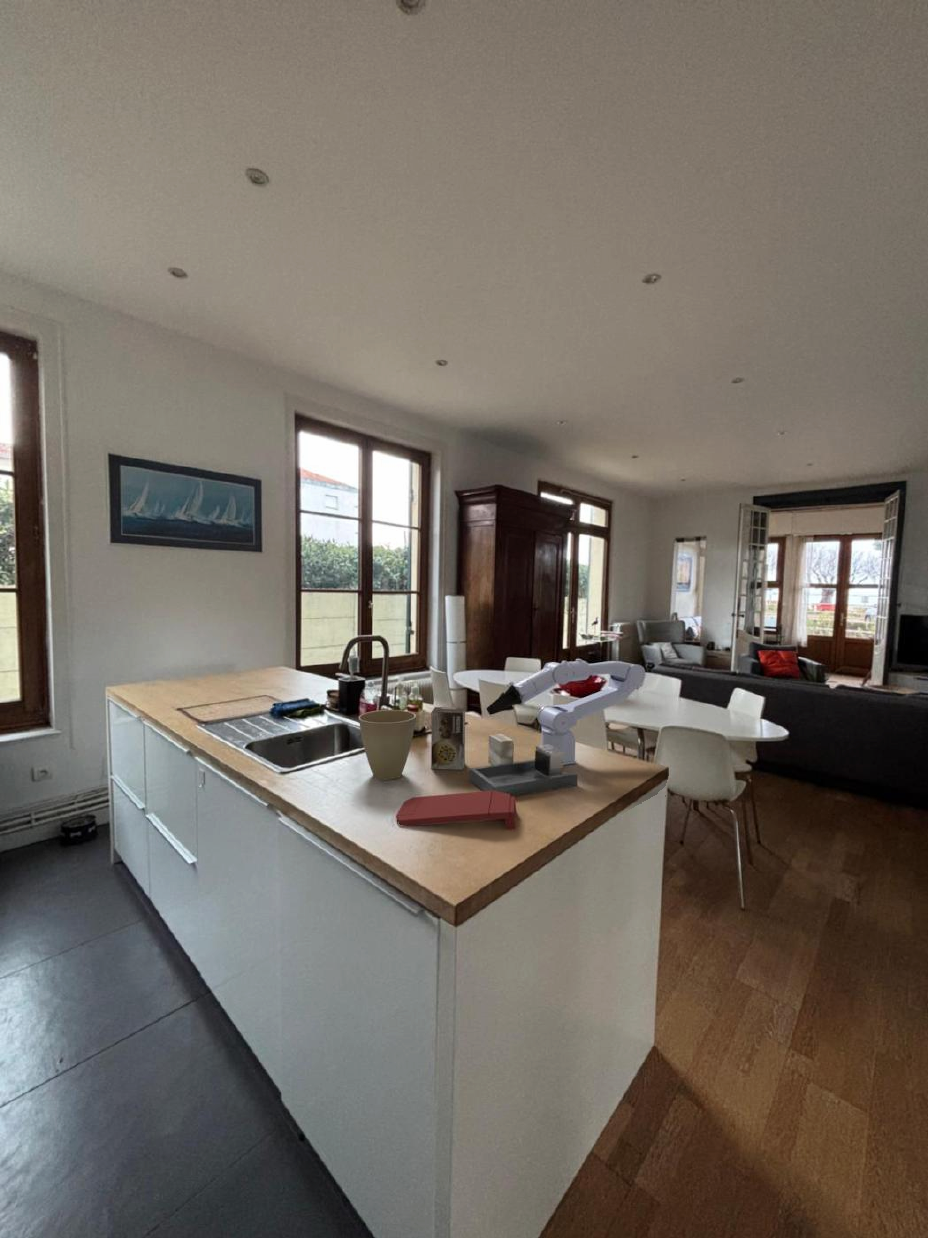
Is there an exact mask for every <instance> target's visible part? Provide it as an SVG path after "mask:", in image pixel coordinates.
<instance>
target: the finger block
mask: <svg viewBox="0 0 928 1238" xmlns="http://www.w3.org/2000/svg"><path fill="white" fill-rule="evenodd" d="M514 745H515V744H514V740H513V739H512V738H510V737H508V736H506V735H504V734H503V733H496V734H489V735H488V756H487V757H488V758H487V759H488V763H489V764H490V765H497V764H505V763H512V762H514V747H515V746H514Z"/></svg>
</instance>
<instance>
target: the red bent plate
mask: <svg viewBox="0 0 928 1238" xmlns="http://www.w3.org/2000/svg"><path fill="white" fill-rule="evenodd" d="M517 816H518V813H517V805H516V796H513V797H510V794H507V793H502V792H498V791H493V792H492V791H483V790H481V791H472V792H470V791H469V792H459V793H449V794H447V793H446V794H437V795H436V794H435V795H426V796H425V795H424V796H414V797H413V796H412V797H411V798H408V799H407V800H405V801H404V802H403V803H402V805H401V806H400V808H399V810H398V812H397V813H396V815H395V819H397V820H396V822H397V821H398V822H399V823H398V822H397V823H398V825H399V824H400V825H404V827H411V826H413V827H414V826H424V825H436V824H437V825H439V824H450V823H462V822H477V821H487V820H504V824H505V829H506V830H513V831H514V830H515V831H516V830H517ZM400 825H399V826H400ZM405 825H406V826H405Z"/></svg>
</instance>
